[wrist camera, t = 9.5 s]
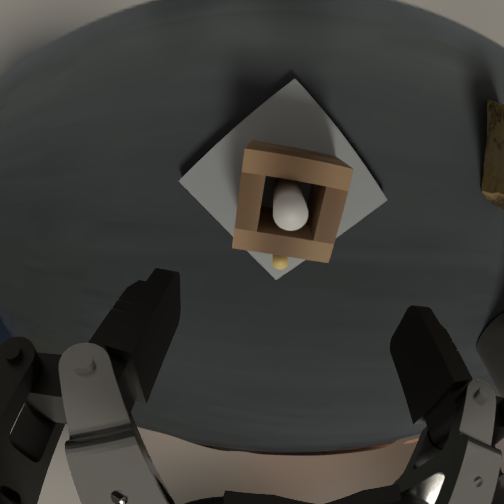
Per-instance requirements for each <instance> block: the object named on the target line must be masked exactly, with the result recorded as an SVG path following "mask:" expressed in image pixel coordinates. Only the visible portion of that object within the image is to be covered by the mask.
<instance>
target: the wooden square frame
mask: <svg viewBox="0 0 504 504" xmlns="http://www.w3.org/2000/svg"><path fill="white" fill-rule="evenodd" d="M353 170H354V169H353V168H352V167H350V166H349V165H347V164H346V163H345V162H343V161H342V160H341V159H339V158H338V157H336V156H333V155H329V154H324V153H319V152H315V151H310V150H305V149H299V148H294V147H288V146H283V145H277V144H270V143H264V142H257V141H251V142H250V143H249V144H248V145H247V146H246V148H245V150H244V158H243V165H242V173H241V180H240V188H239V196H238V204H237V212H236V220H235V228H234V237H233V245H232V248H235V249H241V250H248V251H254V252H261V253H267V254H274V255H280V256H287V257H293V258H299V259H306V260H312V261H319V262H325V263H329V259H330V256H331V253H332V249H333V246H334V243H335V239H336V236H337V232H338V229H339V225H340V221H341V218H342V214H343V210H344V206H345V202H346V199H347V195H348V191H349V187H350V182H351V178H352V174H353ZM266 176H272V177H278V178H284V179H289V180H295V181H300V182H306V183H311V189H310V194H309V198H308V203H307V209H308V219H307V221H306V223H305V224H304V225H303V226H302V227H301V228H299V229H297V230H293V231H288V230H284V229H282V228H280V227H279V226H278V225H277V224H276V223H275V221H274V218H273V208H271V207H264V206H261V202H262V196H263V190H264V183H265V177H266Z"/></svg>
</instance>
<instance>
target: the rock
mask: <svg viewBox="0 0 504 504" xmlns="http://www.w3.org/2000/svg"><path fill="white" fill-rule="evenodd" d="M483 173H484V176H483V179H482V192H483V194H484V195H485V196H486V198H487V199H488V200H489V201H490V202H491V203H492V204H494V205H495V206H497V207H499V208H501V209H503V210H504V105H503V104H500V103H498V102H495V101H493V100H489V99H488V100H487V142H486V149H485V160H484V171H483Z"/></svg>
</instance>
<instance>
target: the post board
mask: <svg viewBox="0 0 504 504" xmlns="http://www.w3.org/2000/svg"><path fill="white" fill-rule="evenodd" d="M251 141H257V142H264V143H270V144H277V145H283V146H288V147H294V148H299V149H305V150H310V151H315V152H319V153H324V154H329V155H333V156H336V157H338V158H339V159H341V160H342V161H343V162H345V163H346V164H347V165H349V166H350V167H352V168H353V169H354V170H353V174H352V178H351V182H350V187H349V191H348V195H347V199H346V202H345V206H344V210H343V214H342V218H341V221H340V225H339V229H338V232H337V236H336V238H337V237H338V236H340V235H341V234H342V233H344V232H345V231H346V230H348V229H349V228H351V227H352V226H353V225H355V224H356V223H357V222H359V221H360V220H361V219H363V218H364V217H365V216H367V215H368V214H369V213H371V212H372V211H374V210H375V209H376V208H378V207H379V206H380V205H381V204H383V203H384V202H385V201H387V199H386V197H385V195H384V194H383V192H382V191H381V189H380V187H379V186H378V184H377V183H376V181H375V180H374V178H373V177H372V175H371V174H370V172H369V171H368V169H367V168H366V166H365V165H364V163H363V162H362V161H361V159H360V158H359V156H358V155H357V153H356V152H355V151H354V149H353V148H352V147H351V145H350V144H349V143H348V141H347V140H346V138H345V137H344V136H343V135H342V133H341V132H340V131H339V129H338V128H337V127H336V126H335V124H334V123H333V122H332V120H331V119H330V118H329V117H328V116H327V114H326V113H325V112H324V111H323V109H322V108H321V107H320V106H319V105H318V104H317V102H316V101H315V100H314V99H313V98H312V97H311V95H310V94H309V93H308V92H307V91H306V90H305V89H304V88H303V86H302V85H301V84H300V83H299V82H298V81H297V80H296V79H294V80H292V81H291V82H290V83H288V84H287V85H286V86H284V87H283V88H282V89H281V90H279V91H278V92H277V93H276V94H274V95H273V96H272V97H270V98H269V99H268V100H267V101H266V102H264V103H263V104H262V105H261V106H259V107H258V108H257V109H256V110H255V111H253V112H252V113H251V114H250V115H249V116H248V117H246V118H245V119H244V120H243V121H242V122H241V123H239V124H238V125H237V126H236V127H235V128H234V129H233V130H231V131H230V132H229V133H228V134H227V135H226V136H225V137H224V138H223V139H222V140H220V141H219V142H218V143H217V144H216V145H215V146H214V147H213V148H212V149H211V150H210V151H209V152H208V153H207V154H205V155H204V156H203V157H202V158H201V159H200V160H199V161H198V162H197V163H196V164H195V165H194V166H193V167H192V168H191V169H190V170H189V171H188V172H187V173H186V174H185V175H184V176H183V177H182V178H181V179H180V180H179V182H180V183H181V184H182V185H183V186H184V187H185V188H186V189H187V190H188V191H189V192H190V193H191V194H192V195H193V196H194V197H195V198H196V199H197V200H198V201H199V202H200V203H201V204H202V205H203V206H204V207H205V209H206V210H207V211H208V212H209V213H210V214H211V215H212V216H213V217H214V218H215V219H216V220H217V221H218V222H219V223H220V224H221V225H222V226H223V227H224V228H225V229H226V230H227V231H228V232H229V233H230V234H231V235H232V236H233V237H234V228H235V220H236V212H237V204H238V196H239V188H240V180H241V173H242V165H243V158H244V150H245V148H246V146H247V145H248V144H249V143H250V142H251ZM310 189H311V183H306V182H300V181H295V180H289V179H284V178H278V177H272V176H266V177H265V183H264V190H263V196H262V202H261V206H264V207H271V208H273V218H274V221H275V223H276V224H277V225H278V226H279V227H280V228H282V229H284V230H288V231H293V230H297V229H299V228H301V227H302V226H303V225H304V224H305V223H306V221H307V219H308V209H307V203H308V198H309V194H310ZM247 251H248V250H247ZM248 252H249V253H250V254H251V255H252V256H253V257H254V258H255V259H256V260H257V261H258V262H259V263H260V264H261V265H262V266H263V267H264V268H265V269H266V270H267V271H268V272H269V273H270V274H271V275H272V276H273V277H274V278H275V280H277V279H278V278H280V277H281V276H283V275H284V274H286V273H287V272H289V271H290V270H291V269H293V268H294V267H296V266H297V265H299V264H300V263H301V262H303V261H304V260H306V259H299V258H293V257H287V256H280V255H274V254H267V253H261V252H254V251H248Z"/></svg>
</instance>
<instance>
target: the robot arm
mask: <svg viewBox="0 0 504 504" xmlns="http://www.w3.org/2000/svg"><path fill="white" fill-rule="evenodd" d="M180 310H181V307H180V275H179V272H176V271H170V270H165V269H159V268H156V269H155V270H154V271H153V273H152V274H151V275H150V277H149V278H148V280H147V281H141V280H139V281H137V282H135V283H134V284H132V285H131V286H129V287H127V288H126V290H125V291H124V292H123V294H122V295H121V297H120V298H119V300H118V301H117V302H116V303H115V305H114V306H113V309H111V310H110V312H109V313H108V315H107V316H106V317H105V319H104V320H103V322H102V323H101V325H100V326H99V328H98V329H97V330H96V332H95V333H94V335H93V336H92V338H91V339H90V341H89V342H88V343H80V344H76V345H74V346H72V347H70V348H69V349H67V350H66V351H65V352H64V353H63V355H57V354H46V353H37V352H36V350H35V348H34V346H33V344H32V343H31V341H30V340H28V339H27V338H24V337H13V338H10V339H8V340H6V341H5V342H4V343H2V344H1V346H0V504H37V502H38V499H39V495H40V492H41V489H42V485H43V482H44V479H45V476H46V473H47V470H48V467H49V464H50V462H51V459H52V456H53V453H54V451H55V448H56V446H57V443H58V440H59V438H60V435H61V433H62V430H63V428H64V426H65V424H67V425H68V429H69V434H70V439H69V440H68V441H66V443H65V452H66V457H67V461H68V464H69V468H70V471H71V475H72V477H73V481H74V484H75V487H76V489H77V492H78V495H79V498H80V500H81V503H82V504H176V503H175V502H174V500H173V498H172V497H171V495H170V493H169V491H168V489H167V488H166V486H165V484H164V482H163V480H162V479H161V477H160V475H159V473H158V471H157V470H156V468H155V466H154V464H153V462H152V460H151V458H150V456H149V454H148V451H147V449H146V447H145V445H144V443H143V440H142V438H141V436H140V433H139V431H138V429H137V426H136V424H135V421H134V418H133V416H132V413H131V410H132V408H133V405H134V403H135V401H139V402H142V403H145V404H147V401H148V399H149V396H150V393H151V391H152V388H153V386H154V383H155V380H156V378H157V375H158V373H159V370H160V368H161V365H162V363H163V360H164V358H165V355H166V353H167V350H168V348H169V346H170V343H171V341H172V338H173V336H174V334H175V331H176V329H177V326H178V323H179V319H180ZM476 349H477V352H478V354H479V356H480V357H481V359H482V361H483V363H484V365H485V366H486V369H487V370H488V372H489V374H490V376H491V378H492V380H493V382H494V384H495V386H496V388H497V390H498V393H499V395H500V397H498V396H495V394H494V392H493V390H492V388H491V387H490V386H489V385H488V384H487V383H486V382H484V381H482V380H479V379H475V380H473V379H472V377H471V375H470V373H469V371H468V369H467V367H466V365H465V363H464V361H463V359H462V357H461V355H460V354H459V352H458V351H457V348H456V346H455V344H454V343H452V339H451V337H450V336H449V334H448V332H447V330H446V329H445V328H444V327H443V326H442V325H441V324H440V323H439V321H438V320H437V318H436V316H435V315H434V313H433V312H432V310H431V309H430V308H429V307H422V306H410V307H409V308H408V309H407V311H406V312H405V314H404V316H403V318H402V320H401V322H400V324H399V326H398V327H397V329H396V331H395V333H394V334H393V336H392V339H391V342H390V352H391V355H392V358H393V361H394V364H395V367H396V370H397V373H398V376H399V379H400V382H401V385H402V388H403V391H404V394H405V397H406V401H407V404H408V407H409V411H410V414H411V418H412V421H413V424H420V423H426V424H427V427H425V428H424V429H423V431H422V432H421V435H420V437H419V440H418V442H417V445H416V447H415V450H414V452H413V454H412V456H411V458H410V461H409V463H408V465H407V467H406V469H405V471H404V473H403V474H402V475H401V476H400V478H399V479H398V480H396V482H394V484H393V485H390V486H385V487H380V488H374V489H368V490H363V491H360V492H358V493H355V494H352V495H350V496H347V497H344V498H341V499H338V500H336V501H332V502H329V503H326V504H504V474H503V473H502V471H501V468H500V465H501V459H502V453H501V451H500V450H499V449H497V448H495V444H497V443H498V442H499V441H500V440H502V439H503V438H504V312H503V313H502V314H500V315H499V316H498V317H496V318H495V319H494V320H493V321H492V322H491V323H490V324H489V325H488V326H487V328H486V329H485V330H484V332H483V333H482V335H481V336H480V338H479V340H478V343H477V347H476ZM23 404H25V405H24V407H23V409H22V411H21V413H20V415H19V417H18V419H17V421H16V424H15V426H14V428H13V430H12V432H11V429H12V427H13V425H14V423H15V420H16V418H17V416H18V414H19V412H20V410H21V408H22V406H23ZM10 432H11V434H10ZM185 504H313V503H307V502H302V501H297V500H293V499H288V498H284V497H280V496H276V495H265V494H252V493H242V492H233V491H225V493H224V496H223V497H211V498H205V499H199V500H196V501H191V502H188V503H185Z"/></svg>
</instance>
